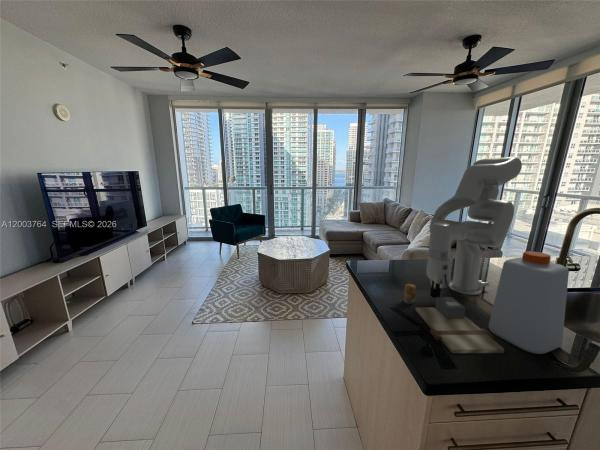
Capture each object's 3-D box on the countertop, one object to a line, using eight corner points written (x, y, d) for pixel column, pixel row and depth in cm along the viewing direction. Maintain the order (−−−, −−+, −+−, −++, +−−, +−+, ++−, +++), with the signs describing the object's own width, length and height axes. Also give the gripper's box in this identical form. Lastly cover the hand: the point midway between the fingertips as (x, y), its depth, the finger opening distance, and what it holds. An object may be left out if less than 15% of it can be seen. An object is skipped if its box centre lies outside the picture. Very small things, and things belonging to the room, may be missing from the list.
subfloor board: (458, 309, 96) (458, 306, 96) (509, 352, 72) (509, 348, 72) (411, 310, 96) (411, 307, 96) (447, 353, 72) (447, 349, 72)
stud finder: (450, 306, 96) (451, 296, 95) (464, 317, 88) (465, 307, 87) (435, 306, 96) (436, 296, 95) (447, 318, 88) (448, 307, 87)
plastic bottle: (567, 346, 75) (586, 257, 69) (537, 359, 69) (554, 265, 64) (510, 320, 89) (522, 244, 83) (482, 329, 83) (492, 250, 78)
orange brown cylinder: (411, 299, 105) (413, 283, 104) (416, 303, 101) (417, 287, 100) (402, 299, 105) (403, 283, 104) (406, 304, 101) (407, 288, 100)
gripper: (460, 259, 91) (455, 305, 94) (438, 248, 105) (434, 288, 109) (439, 260, 91) (435, 306, 94) (420, 248, 105) (417, 288, 109)
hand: (434, 296), depth 101 cm, fingers closed
